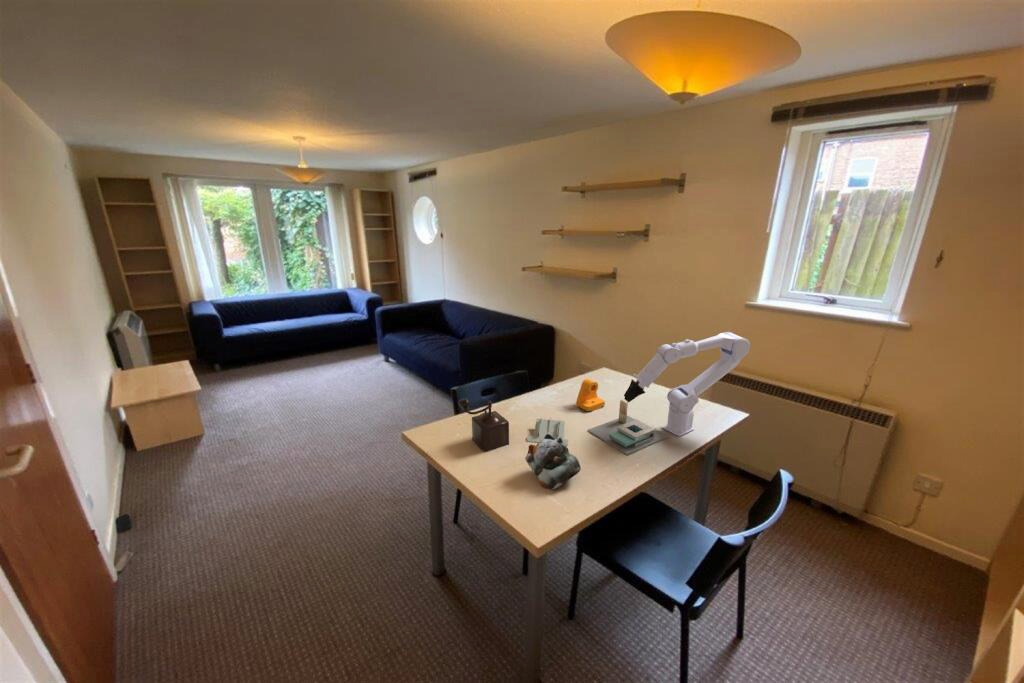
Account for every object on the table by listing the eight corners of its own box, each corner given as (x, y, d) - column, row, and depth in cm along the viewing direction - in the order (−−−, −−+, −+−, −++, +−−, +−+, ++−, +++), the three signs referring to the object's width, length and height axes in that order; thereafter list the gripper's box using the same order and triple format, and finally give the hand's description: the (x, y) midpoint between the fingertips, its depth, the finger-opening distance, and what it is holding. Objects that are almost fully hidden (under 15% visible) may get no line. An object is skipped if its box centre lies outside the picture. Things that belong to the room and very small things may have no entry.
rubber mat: (626, 416, 165) (626, 415, 165) (667, 437, 149) (668, 436, 149) (587, 431, 154) (587, 429, 154) (627, 455, 138) (627, 454, 138)
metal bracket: (531, 413, 156) (570, 416, 154) (532, 424, 159) (569, 427, 157) (526, 440, 145) (567, 444, 142) (526, 451, 148) (567, 455, 145)
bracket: (587, 413, 168) (589, 387, 165) (576, 406, 174) (577, 381, 171) (605, 406, 174) (607, 381, 171) (593, 400, 180) (595, 376, 176)
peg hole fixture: (635, 428, 154) (636, 419, 153) (654, 438, 147) (655, 429, 146) (607, 439, 146) (608, 430, 145) (626, 451, 139) (627, 441, 138)
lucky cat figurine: (545, 495, 117) (526, 452, 118) (534, 486, 129) (517, 446, 129) (588, 472, 121) (569, 430, 122) (573, 465, 133) (556, 426, 133)
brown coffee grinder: (495, 431, 154) (494, 388, 149) (509, 444, 145) (509, 399, 140) (458, 442, 146) (456, 397, 141) (471, 457, 137) (469, 410, 132)
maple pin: (622, 419, 161) (623, 399, 159) (627, 422, 159) (629, 402, 156) (616, 421, 160) (618, 401, 157) (622, 424, 157) (624, 403, 155)
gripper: (641, 363, 154) (617, 389, 157) (643, 366, 140) (617, 394, 143) (655, 375, 153) (631, 401, 155) (659, 379, 139) (633, 407, 141)
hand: (626, 399), depth 149 cm, fingers open, 7 cm apart
